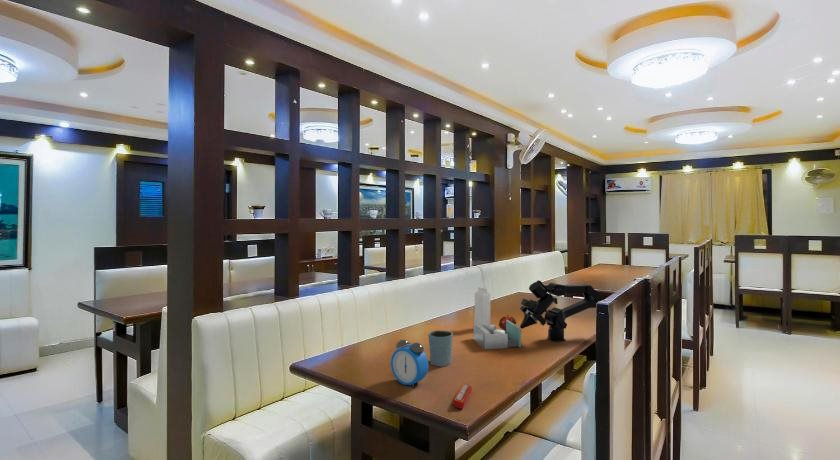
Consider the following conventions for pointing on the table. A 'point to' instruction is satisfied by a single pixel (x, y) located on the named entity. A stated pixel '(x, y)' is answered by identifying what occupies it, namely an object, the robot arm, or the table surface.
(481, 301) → the milk
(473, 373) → the table surface
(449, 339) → the grey-green cup
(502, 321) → the dragon fruit
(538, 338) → the table surface
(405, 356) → the alarm clock
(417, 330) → the table surface
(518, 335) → the drawer
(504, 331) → the grey rounded tapered piece
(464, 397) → the candy bar
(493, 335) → the dock
